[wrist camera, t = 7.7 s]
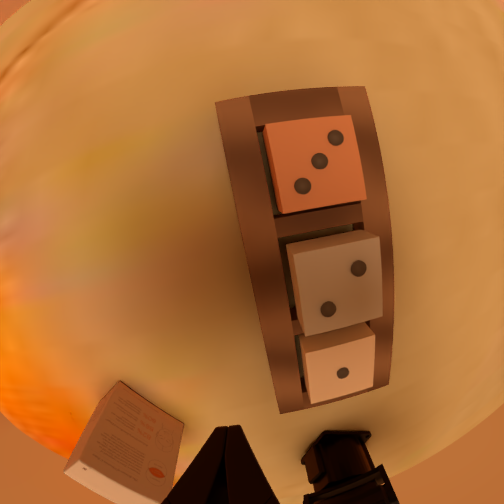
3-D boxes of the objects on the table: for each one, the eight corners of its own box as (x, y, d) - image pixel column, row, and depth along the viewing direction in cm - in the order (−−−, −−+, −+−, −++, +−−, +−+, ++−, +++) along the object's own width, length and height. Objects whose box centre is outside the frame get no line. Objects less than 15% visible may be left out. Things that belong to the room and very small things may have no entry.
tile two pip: (366, 300, 18) (384, 317, 15) (297, 317, 18) (305, 338, 15) (361, 229, 17) (380, 237, 14) (285, 244, 17) (293, 255, 14)
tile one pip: (361, 368, 20) (373, 388, 18) (304, 383, 21) (311, 405, 18) (361, 318, 19) (376, 336, 17) (298, 334, 19) (305, 355, 17)
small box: (98, 401, 23) (60, 471, 12) (120, 378, 22) (76, 459, 11) (158, 441, 24) (138, 515, 14) (186, 423, 23) (169, 509, 13)
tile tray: (380, 372, 22) (388, 384, 20) (277, 399, 22) (280, 414, 20) (354, 94, 17) (364, 86, 15) (217, 110, 17) (214, 102, 15)
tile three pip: (350, 197, 17) (368, 199, 15) (277, 210, 17) (283, 214, 15) (336, 123, 16) (352, 114, 13) (262, 133, 16) (265, 123, 13)
